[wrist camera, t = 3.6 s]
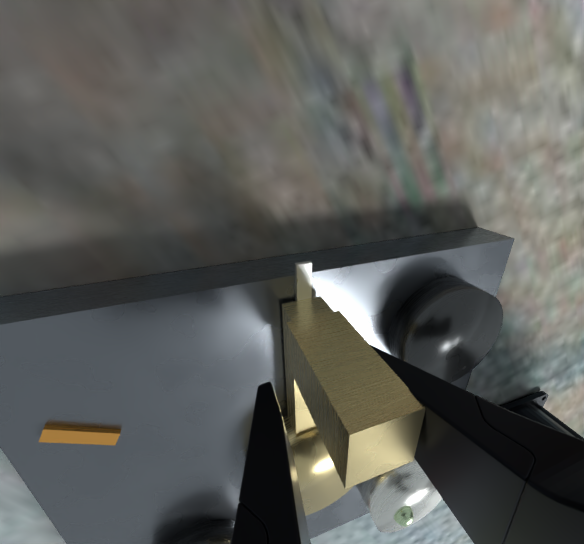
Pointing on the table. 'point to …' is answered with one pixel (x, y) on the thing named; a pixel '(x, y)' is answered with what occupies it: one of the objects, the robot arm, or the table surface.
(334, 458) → the brass knob
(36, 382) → the instrument base
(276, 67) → the table surface
